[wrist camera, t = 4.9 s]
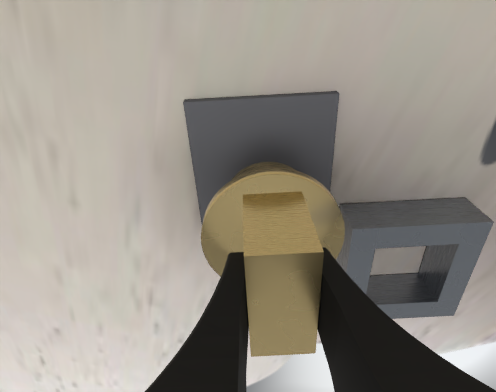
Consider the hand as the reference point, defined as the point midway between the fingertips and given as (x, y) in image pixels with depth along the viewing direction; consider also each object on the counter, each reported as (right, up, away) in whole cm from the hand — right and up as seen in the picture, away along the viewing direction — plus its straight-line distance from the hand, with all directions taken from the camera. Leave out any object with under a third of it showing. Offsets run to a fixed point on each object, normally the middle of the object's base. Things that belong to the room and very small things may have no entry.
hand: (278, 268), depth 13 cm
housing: (+10, -1, +12) cm, 16 cm away
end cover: (0, +3, +5) cm, 6 cm away
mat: (0, +5, +8) cm, 10 cm away
